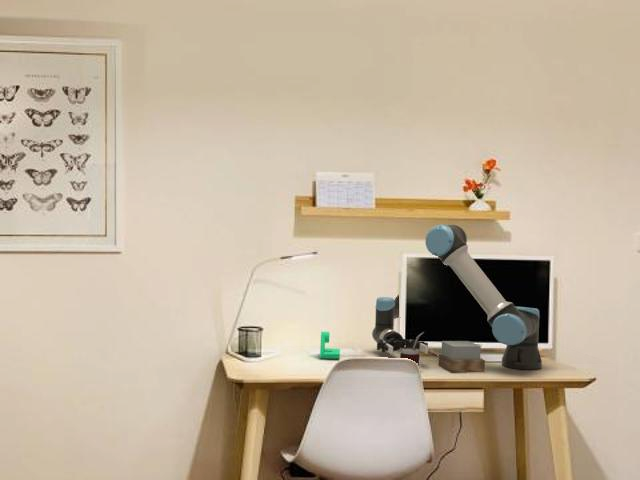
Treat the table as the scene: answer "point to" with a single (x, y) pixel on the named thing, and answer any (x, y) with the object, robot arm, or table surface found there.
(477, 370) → the tower base
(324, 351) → the camera mount
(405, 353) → the mate gourd
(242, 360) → the table surface
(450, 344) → the tower top
